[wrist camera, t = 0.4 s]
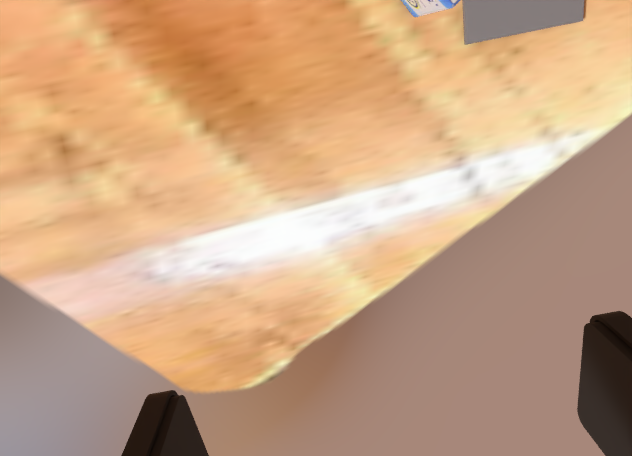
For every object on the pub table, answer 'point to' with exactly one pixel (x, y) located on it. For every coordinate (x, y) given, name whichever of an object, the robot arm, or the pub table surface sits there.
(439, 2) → the medicine box
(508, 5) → the charcoal mat
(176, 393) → the robot arm
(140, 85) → the pub table surface
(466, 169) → the pub table surface
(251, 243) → the pub table surface
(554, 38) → the pub table surface
